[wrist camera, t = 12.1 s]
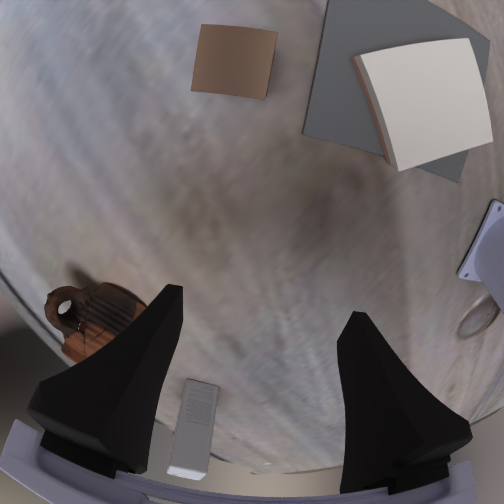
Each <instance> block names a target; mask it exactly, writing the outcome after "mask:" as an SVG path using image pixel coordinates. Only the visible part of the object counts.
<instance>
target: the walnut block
mask: <svg viewBox="0 0 504 504" xmlns="http://www.w3.org/2000/svg"><path fill="white" fill-rule="evenodd" d="M277 34H278V32H275V31H269V30H262V29H255V28H246V27H237V26H225V25H209V24H201V30H200V35H199V41H198V47H197V53H196V59H195V65H194V72H193V79H192V86H191V91H196V92H208V93H218V94H227V95H235V96H242V97H249V98H256V99H262V100H265V98H266V94H267V89H268V84H269V78H270V73H271V68H272V62H273V57H274V52H275V46H276V40H277Z"/></svg>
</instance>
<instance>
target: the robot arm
mask: <svg viewBox="0 0 504 504" xmlns="http://www.w3.org/2000/svg"><path fill="white" fill-rule="evenodd" d="M498 207H499V208H498ZM458 276H459V278H461V279H466V280H472V281H477V282H482V283H483V284H484V285H485V287H486V288H487V290H488V291H489V293H490V294H491V295H492V297H493V298H494V300H495V301H496V303H497V304H498V306H499V307H500V309H501V311H502V312H503V314H504V204H503V203H501V202H499V201H497V200H494V201H493V202H492V203H491V205H490V208H489V210H488V212H487V215H486V217H485V219H484V222H483V224H482V226H481V228H480V230H479V232H478V235H477V237H476V239H475V241H474V243H473V245H472V247H471V249H470V251H469V253H468V255H467V256H466V258H465V260H464V262H463V264H462V266H461V268H460V269H459V271H458ZM182 323H183V286H178V285H172V284H168V285H166V286H165V287H164V288H163V290H162V291H161V292H160V293H159V294H158V295H157V297H156V298H155V299H154V300H153V301H152V302H151V303H150V304H149V305H148V306H147V307H146V308H145V310H144V311H143V312H142V313H141V314H140V315H139V316H138V317H137V318H136V319H135V320H134V321H133V322H131V323H130V324H129V325H128V326H127V327H126V328H125V329H124V330H123V331H122V332H121V333H119V334H118V335H117V336H116V337H115V338H113V339H112V340H111V341H110V342H108V343H107V344H106V345H105V346H103V347H102V348H100V349H99V350H98V351H96V352H95V353H93V354H92V355H90V356H89V357H87V358H86V359H84V360H83V361H81V362H79V363H77V364H76V365H74V366H72V367H70V368H69V369H67V370H65V371H63V372H61V373H59V374H57V375H55V376H52V377H50V378H48V379H46V380H44V381H41V382H40V383H39V385H38V386H37V388H36V389H35V392H34V394H33V396H32V398H31V400H30V403H29V405H28V407H27V412H28V413H29V415H30V416H31V417H32V418H33V419H34V420H35V421H36V422H37V423H38V424H40V425H41V426H42V427H43V428H44V429H45V432H44V435H42V434H41V433H39V432H38V431H36V430H34V429H33V428H31V427H29V426H27V425H26V424H24V423H22V422H21V421H19V420H17V419H16V420H15V421H14V424H13V426H12V428H11V431H10V433H9V436H8V438H7V441H6V444H5V447H4V449H3V452H2V455H1V458H0V469H1V470H2V471H4V472H5V473H6V474H8V475H9V476H11V477H12V478H13V479H15V480H16V481H18V482H19V483H21V484H22V485H23V486H25V487H26V488H28V489H30V490H31V491H33V492H34V493H35V494H37V495H39V496H40V497H42V498H43V499H45V500H47V501H48V502H50V503H51V504H161V503H158V502H154V501H150V500H149V498H148V497H147V496H146V495H148V496H152V497H155V498H159V499H163V500H168V501H172V502H177V503H181V504H473V503H475V502H476V501H477V496H476V490H475V484H474V479H473V473H472V468H471V463H470V460H469V459H468V460H466V461H463V462H460V463H458V464H455V465H453V466H451V467H448V466H447V463H448V462H450V461H451V458H450V454H452V453H453V452H455V451H457V450H458V449H460V448H462V447H463V446H465V445H466V444H468V443H469V442H470V441H471V440H472V438H473V436H472V433H471V429H470V425H469V422H468V421H467V420H466V419H464V418H463V417H461V416H460V415H458V414H456V413H455V412H453V411H452V410H451V409H449V408H448V407H447V406H445V405H444V404H443V403H442V402H440V401H439V400H438V399H437V398H436V397H435V396H433V395H432V394H431V393H430V392H429V391H428V390H427V389H426V388H425V387H424V386H423V385H422V384H421V383H420V382H419V381H418V380H417V379H416V378H415V377H414V376H413V374H412V373H411V372H410V371H409V370H408V369H407V368H406V366H405V365H404V364H403V363H402V361H401V360H400V359H399V358H398V356H397V355H396V354H395V352H394V351H393V350H392V348H391V347H390V345H389V344H388V343H387V341H386V340H385V339H384V337H383V336H382V334H381V333H380V332H379V330H378V329H377V327H376V326H375V324H374V323H373V322H372V320H371V319H370V318H369V316H368V315H367V314H366V313H365V312H356V311H353V313H352V315H351V316H350V318H349V320H348V322H347V324H346V326H345V328H344V329H343V331H342V333H341V335H340V337H339V338H338V340H337V357H338V367H339V373H340V379H341V385H342V391H343V398H344V404H345V422H346V435H345V455H344V466H343V473H342V480H341V485H340V494H337V495H328V496H313V497H254V496H240V495H230V494H221V493H213V492H206V491H200V490H194V489H188V488H183V487H178V486H174V485H169V484H165V483H161V482H157V481H153V480H149V479H145V478H142V477H138V476H135V475H132V474H129V473H133V474H142V473H144V472H146V471H147V464H148V456H149V449H150V443H151V436H152V430H153V425H154V420H155V415H156V410H157V405H158V401H159V396H160V392H161V389H162V385H163V382H164V379H165V376H166V374H167V371H168V368H169V365H170V363H171V360H172V357H173V354H174V351H175V349H176V346H177V343H178V340H179V336H180V332H181V327H182ZM128 472H129V473H128Z"/></svg>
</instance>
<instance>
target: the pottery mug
mask: <svg viewBox="0 0 504 504" xmlns="http://www.w3.org/2000/svg"><path fill="white" fill-rule="evenodd" d="M47 297H48V298H47V302H46V304H45V306H44V310H45V315H46V318H47V320H48V321H49V322H50V323H51V324H52V325H53V326H54V327H55V328H56V329H58V330H60V331H61V332H62V333H63V336H64V339H65V342H64V345H63V347H62V348H61V351H62V352H63V353H64V355H65V356H66V357H68V358H69V359H71V360H72V361H73V362H75V363H76V364H77V363H79V362H81V361H83V360H84V359H86V358H87V357H89V356H90V355H92V354H93V353H95V352H96V351H98V350H99V349H100V348H102V347H103V346H105V345H106V344H107V343H108V342H110V341H111V340H112V339H113V338H115V337H116V336H117V335H118V334H119V333H121V332H122V331H123V330H124V329H125V328H126V327H127V326H128V325H129V324H130V323H131V322H133V321H134V320H135V319H136V318H137V317H138V316H139V315H140V314H141V313H142V312H143V311H144V310H145V308H146V307H145V306H144V305H143V304H141V303H139V302H138V301H136V300H135V299H134V298H132V297H130V296H129V295H128V294H127V293H125V292H123V291H122V290H120V289H118V288H116V287H114V286H112V285H110V284H107V283H102V284H101V286H100V287H99V288H98V289H97V290H96V291H95V292H94V293H93V294H92V295H90V289H89V288H88V287H85V288H83V289H77V288H75V287H72V286H64V287H60V288H57V289H55V290H54V291H52V292H51V293H49V294H48V295H47ZM68 300H71V306H70V308H69V309H68V310H67V312H65V313H63V314H59V313H58V308H59V306H60V305H61V304H62V303H63V302H65V301H68ZM85 321H86V322H85ZM79 323H81V324H80V325H79ZM78 327H79V330H78Z"/></svg>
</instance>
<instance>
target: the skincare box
mask: <svg viewBox="0 0 504 504" xmlns="http://www.w3.org/2000/svg"><path fill="white" fill-rule="evenodd" d="M218 391H219V387H218V386H215V385H210V384H206V383H202V382H198V381H195V380H190V379H187V381H186V384H185V387H184V391H183V395H182V399H181V404H180V408H179V413H178V418H177V423H176V428H175V433H174V437H173V443H172V447H171V452H170V457H169V462H168V468H167V473H168V474H171V475H176V476H180V477H184V478H189V479H194V480H200V479H201V478H202V477H204V476H205V475H206V474H207V471H208V464H209V457H210V449H211V442H212V435H213V427H214V420H215V413H216V405H217V398H218Z"/></svg>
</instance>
